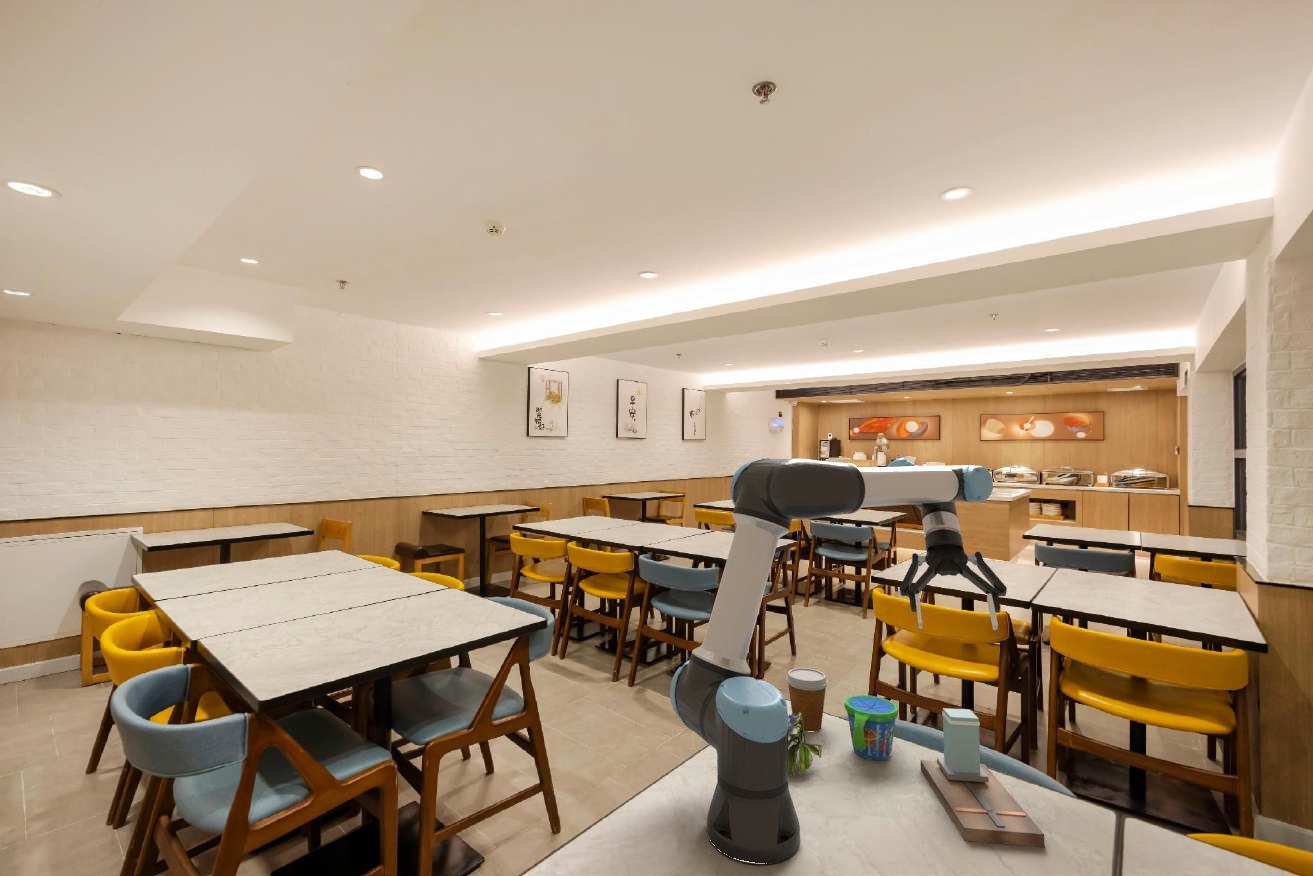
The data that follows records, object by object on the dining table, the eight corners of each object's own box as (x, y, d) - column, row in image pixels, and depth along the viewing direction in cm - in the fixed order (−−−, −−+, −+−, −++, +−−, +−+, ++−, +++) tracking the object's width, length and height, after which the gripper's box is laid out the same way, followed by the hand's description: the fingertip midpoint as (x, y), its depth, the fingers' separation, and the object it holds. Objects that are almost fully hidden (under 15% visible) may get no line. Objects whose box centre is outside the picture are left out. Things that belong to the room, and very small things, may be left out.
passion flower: (774, 785, 119) (762, 722, 126) (826, 778, 118) (811, 715, 125) (772, 777, 110) (759, 710, 118) (829, 769, 109) (812, 702, 117)
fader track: (964, 840, 93) (964, 826, 93) (920, 770, 114) (920, 758, 115) (1044, 847, 91) (1044, 832, 91) (984, 774, 113) (984, 763, 113)
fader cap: (948, 779, 106) (946, 718, 107) (937, 763, 112) (935, 705, 113) (988, 782, 105) (986, 721, 106) (975, 765, 111) (973, 707, 112)
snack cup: (865, 733, 131) (864, 687, 131) (911, 749, 123) (910, 700, 124) (830, 756, 120) (829, 707, 120) (879, 776, 112) (878, 722, 113)
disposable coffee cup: (830, 737, 128) (829, 683, 129) (787, 733, 130) (786, 679, 131) (826, 719, 138) (825, 668, 138) (786, 716, 140) (785, 666, 140)
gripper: (1005, 543, 127) (1027, 635, 114) (885, 547, 137) (892, 632, 124) (1006, 524, 122) (1030, 619, 109) (882, 530, 132) (889, 617, 119)
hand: (957, 626), depth 116 cm, fingers open, 13 cm apart
